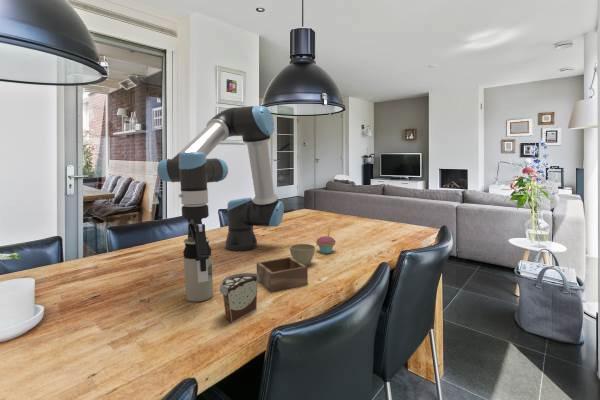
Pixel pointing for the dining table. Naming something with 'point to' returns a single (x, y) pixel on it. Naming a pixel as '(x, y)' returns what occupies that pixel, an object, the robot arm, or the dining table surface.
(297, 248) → the flower pot
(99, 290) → the dining table surface
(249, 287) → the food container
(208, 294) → the travel mug
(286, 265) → the open box
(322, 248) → the cupcake
